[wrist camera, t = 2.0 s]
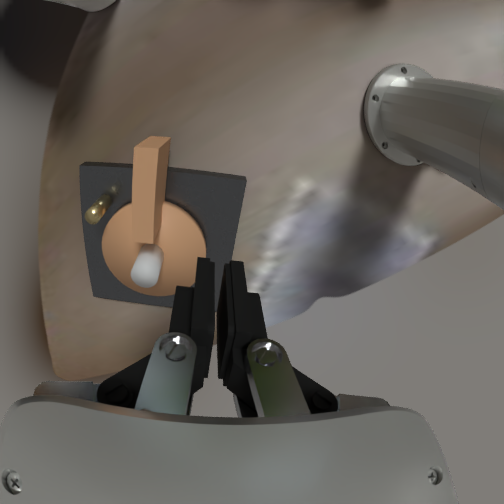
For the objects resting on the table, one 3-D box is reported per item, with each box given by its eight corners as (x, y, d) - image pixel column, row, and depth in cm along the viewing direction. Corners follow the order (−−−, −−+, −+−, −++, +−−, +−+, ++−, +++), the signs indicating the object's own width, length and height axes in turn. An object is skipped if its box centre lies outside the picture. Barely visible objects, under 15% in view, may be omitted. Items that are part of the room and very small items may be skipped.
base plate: (245, 176, 29) (250, 194, 24) (221, 304, 38) (222, 334, 33) (85, 161, 25) (61, 177, 21) (96, 289, 35) (84, 316, 30)
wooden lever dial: (222, 143, 25) (222, 155, 20) (201, 294, 34) (199, 326, 30) (103, 133, 23) (79, 145, 18) (109, 283, 32) (97, 313, 28)
